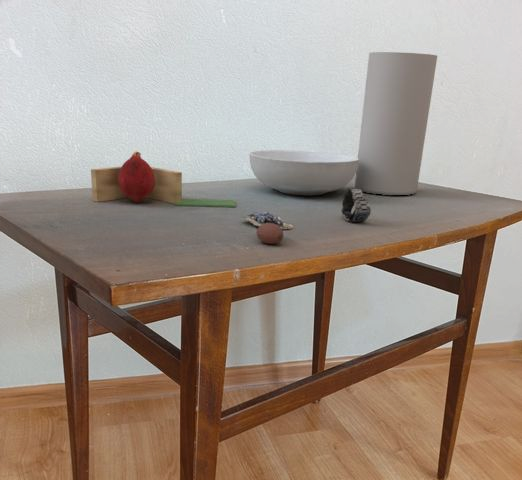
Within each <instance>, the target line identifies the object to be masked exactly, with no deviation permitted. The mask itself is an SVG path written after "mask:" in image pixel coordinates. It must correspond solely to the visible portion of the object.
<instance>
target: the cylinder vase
mask: <svg viewBox="0 0 522 480" xmlns="http://www.w3.org/2000/svg"><path fill="white" fill-rule="evenodd" d="M437 61H438V55H436V54H430V53H418V52H417V53H416V52H399V51H398V52H396V51H395V52H394V51H376V52H375V51H374V52H372V51H371V52H369V53H368V61H367V70H366V79H365V85H364V86H365V87H364V97H363V106H362V116H361V124H360V133H359V140H358V141H359V142H358V151H357V158H359V164H358V168H357V171H356V173H355V176H354V177H355V178H354V189H360V190H362V193H365V192H366V194H369V193H372V194H371V195H376V194H382V195H381V196H385V195H408V196H411V195H410V194H412V195H414V194H416V193H417V191H418V185H419V180H420V173H421V166H422V160H423V153H424V146H425V142H426V141H425V140H426V134H427V127H428V121H429V114H430V107H431V101H432V93H433V88H434V81H435V74H436V68H437Z"/></svg>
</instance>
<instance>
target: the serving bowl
mask: <svg viewBox="0 0 522 480" xmlns="http://www.w3.org/2000/svg"><path fill="white" fill-rule="evenodd" d="M248 157H249V164H250V169H251V171H252V173H253V176H255V177H256V179H257V180H258V181H259V182H260V183H261V184H263V185H265V186H266V187H268V188H271V189H274V190H277V191H278V192H280V193H282V194H286V195H287V194H288V195H293V196H294V195H295V196H320V195H325V194H326V193H330V192H335V191H338V190H340V189H342V188H344V187H346V186H348V184H350V182H351V181H352V180H353V178H354V177H355V176H356V171H357V168H358V164H359V158H358V156H352V155H348V154H342V153H334V152H333V153H332V152H322V151H321V152H320V151H308V150H307V151H305V150H281V149H280V150H279V149H278V150H277V149H276V150H273V149H271V150H255V151H251V152H249V156H248Z"/></svg>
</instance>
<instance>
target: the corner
mask: <svg viewBox="0 0 522 480" xmlns="http://www.w3.org/2000/svg"><path fill="white" fill-rule="evenodd" d="M121 167H122V166H114V167H113V166H112V167H101V168H91V169H90V177H91V192H92V193H91V194H92V201H93V202H96V203H100V202H108V201H115V200H123V199H130V198H129V197H128V196H126V195H125V194H124V193H123V191H122V190H121V188H120V186H119V182H118V175H119V172H120V169H121ZM150 167H151V168H152V170H153V173H154V176H155V186H154V188H153V190H152V192H151V193H150V194H149V195H148V196H147V197H145V199H151V200H155V201H159V202H160V201H161V202H164V203H169V204H172V205H173V204H174V203H175V202H182V198H183V173H182V172H181V171H176V170H172V169H171V170H170V169H165V168H160V167H153V166H150Z"/></svg>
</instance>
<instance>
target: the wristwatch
mask: <svg viewBox="0 0 522 480" xmlns="http://www.w3.org/2000/svg"><path fill="white" fill-rule="evenodd" d="M355 203H356V204H355ZM353 207H354V210H353ZM352 210H353V213H352ZM371 212H372V209H371V205H370V203H369V199H367V198H366V197H365V196H364V192H362V190H360V189H356V188H349V189H347V191H345V194H344V196H343V199H342V204H341V209H340V214H341V217H343V218H344V221H347V222H349V223H363V222H365V221H366V220H367V219H368V218H369V217H370V215H371Z"/></svg>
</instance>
